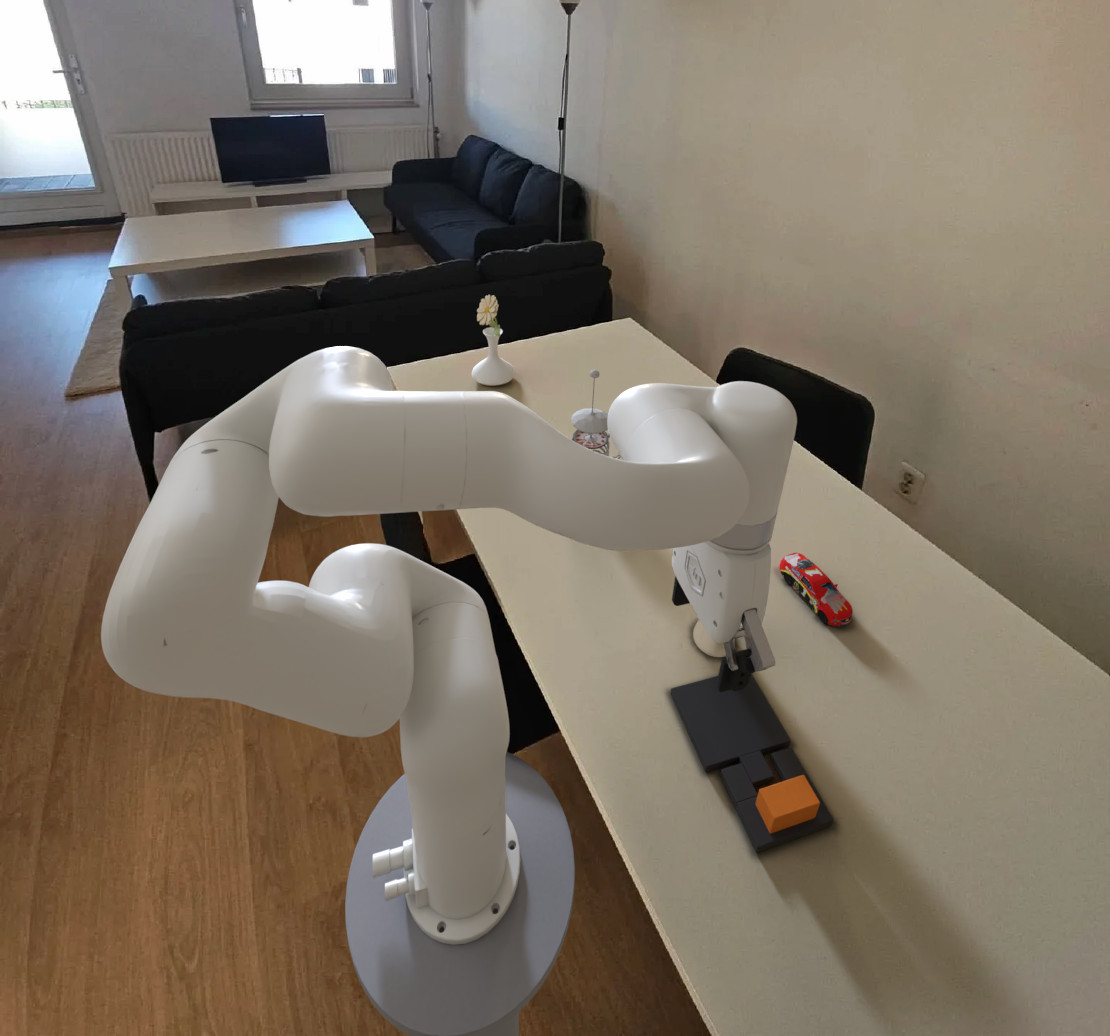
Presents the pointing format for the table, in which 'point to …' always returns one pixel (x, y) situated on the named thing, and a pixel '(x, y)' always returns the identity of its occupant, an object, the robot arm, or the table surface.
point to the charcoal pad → (731, 726)
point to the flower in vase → (491, 348)
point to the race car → (816, 589)
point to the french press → (592, 426)
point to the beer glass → (707, 642)
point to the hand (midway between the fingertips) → (707, 640)
